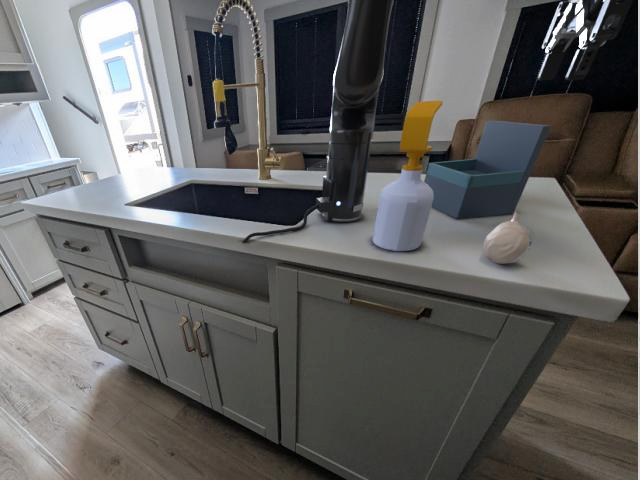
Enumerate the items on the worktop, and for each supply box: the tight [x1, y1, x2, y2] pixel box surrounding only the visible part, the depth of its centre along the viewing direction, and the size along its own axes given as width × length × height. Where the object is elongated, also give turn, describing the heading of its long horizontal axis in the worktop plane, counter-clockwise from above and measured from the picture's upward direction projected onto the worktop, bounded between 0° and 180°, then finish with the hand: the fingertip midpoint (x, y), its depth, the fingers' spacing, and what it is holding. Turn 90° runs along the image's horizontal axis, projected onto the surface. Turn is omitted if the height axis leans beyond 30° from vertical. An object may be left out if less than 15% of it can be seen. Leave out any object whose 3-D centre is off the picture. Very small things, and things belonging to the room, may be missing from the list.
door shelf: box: [423, 120, 552, 220], centre depth 73 cm, size 14×16×18 cm
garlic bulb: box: [482, 210, 532, 265], centre depth 53 cm, size 7×6×8 cm
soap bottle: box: [372, 100, 443, 252], centre depth 57 cm, size 9×9×25 cm
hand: (558, 79), depth 50 cm, fingers open, 8 cm apart
